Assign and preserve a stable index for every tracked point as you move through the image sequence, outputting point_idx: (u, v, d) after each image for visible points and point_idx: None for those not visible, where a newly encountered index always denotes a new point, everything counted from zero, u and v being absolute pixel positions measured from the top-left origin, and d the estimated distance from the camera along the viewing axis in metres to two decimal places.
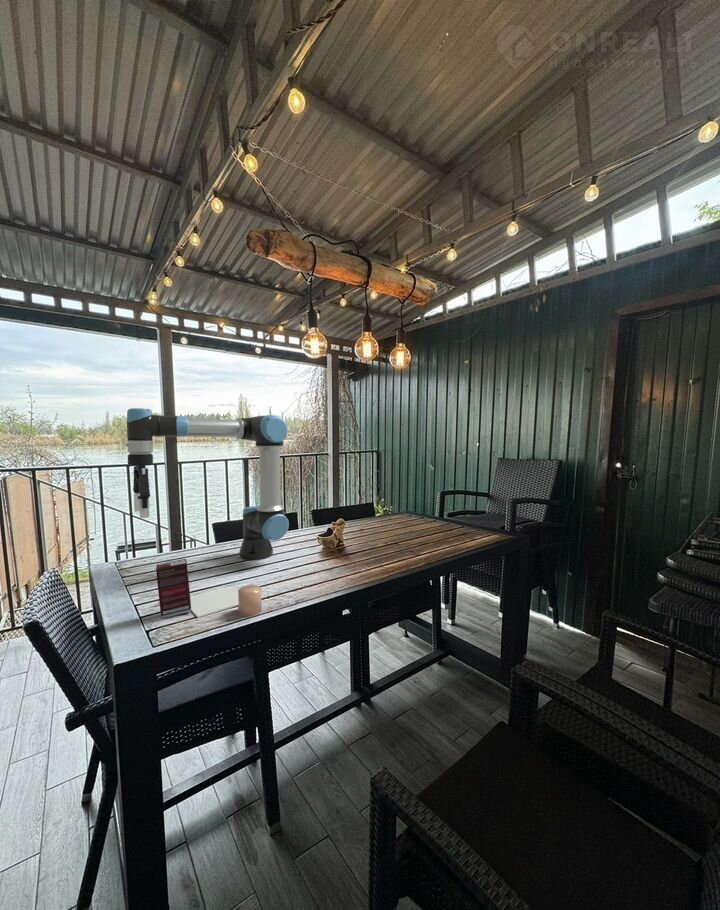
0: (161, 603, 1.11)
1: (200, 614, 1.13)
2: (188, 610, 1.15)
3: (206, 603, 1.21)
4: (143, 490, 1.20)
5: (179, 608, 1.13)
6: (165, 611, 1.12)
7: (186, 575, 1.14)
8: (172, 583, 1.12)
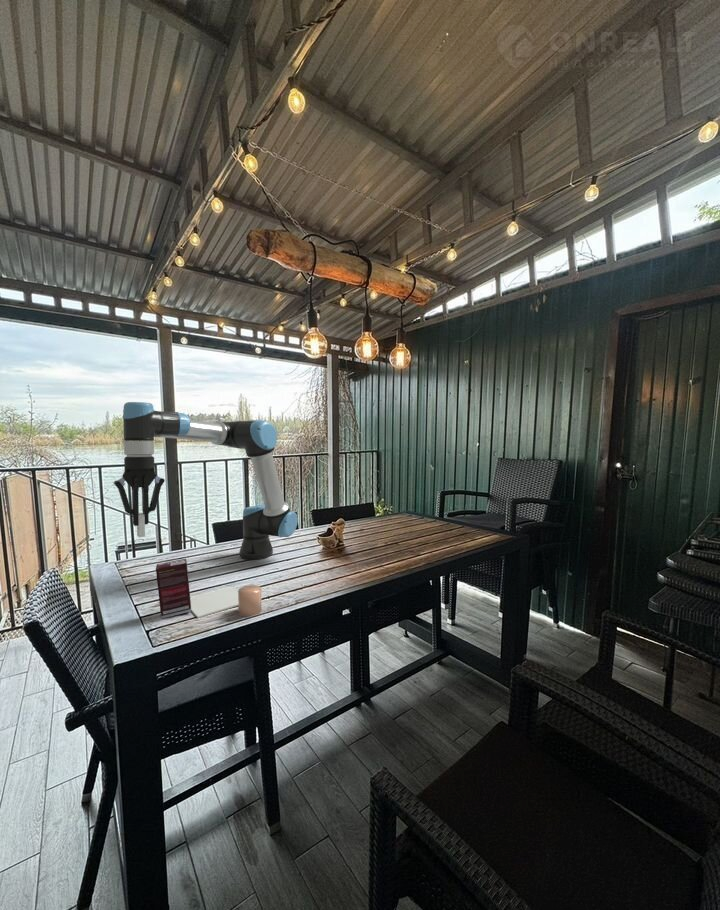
0: (161, 603, 1.11)
1: (200, 614, 1.13)
2: (188, 610, 1.15)
3: (206, 603, 1.21)
4: None
5: (179, 608, 1.13)
6: (165, 611, 1.12)
7: (186, 575, 1.14)
8: (172, 583, 1.12)
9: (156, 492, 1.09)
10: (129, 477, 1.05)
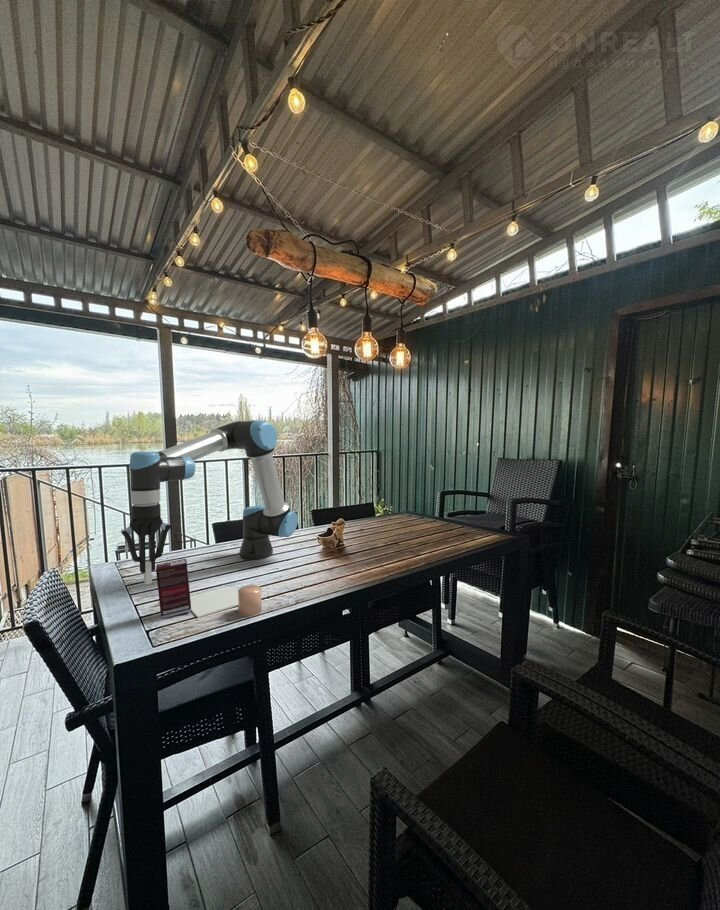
0: (161, 603, 1.11)
1: (200, 614, 1.13)
2: (188, 610, 1.15)
3: (206, 603, 1.21)
4: (131, 554, 1.07)
5: (179, 608, 1.13)
6: (165, 611, 1.12)
7: (186, 575, 1.14)
8: (172, 583, 1.12)
9: (162, 539, 1.11)
10: (136, 526, 1.06)
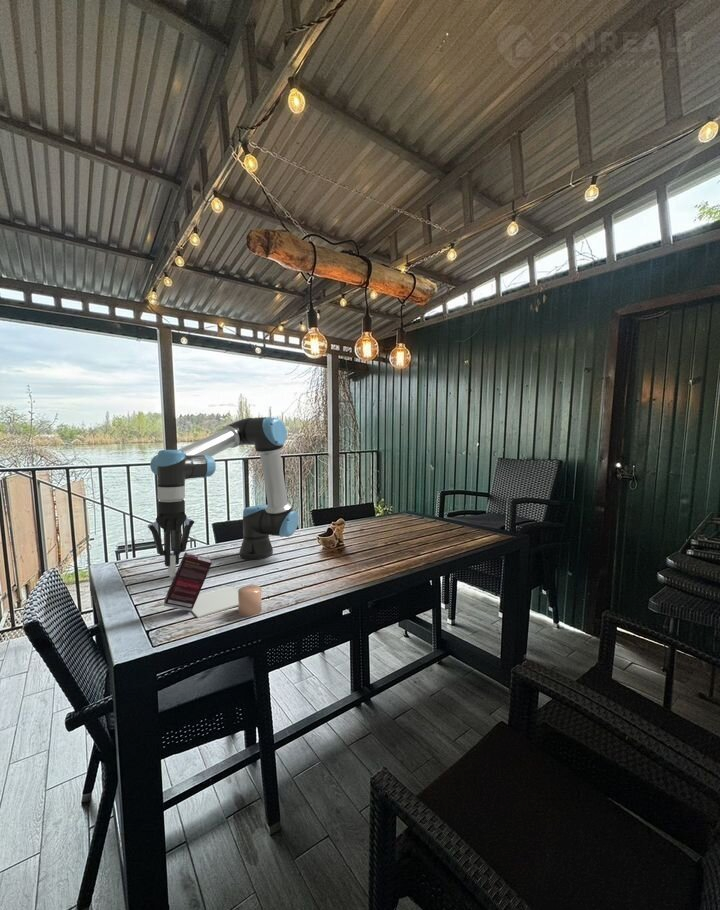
0: (171, 591, 1.12)
1: (200, 614, 1.13)
2: (189, 609, 1.15)
3: (206, 603, 1.21)
4: None
5: (183, 603, 1.14)
6: (171, 600, 1.12)
7: (205, 574, 1.17)
8: (190, 576, 1.15)
9: (186, 534, 1.15)
10: (162, 521, 1.11)
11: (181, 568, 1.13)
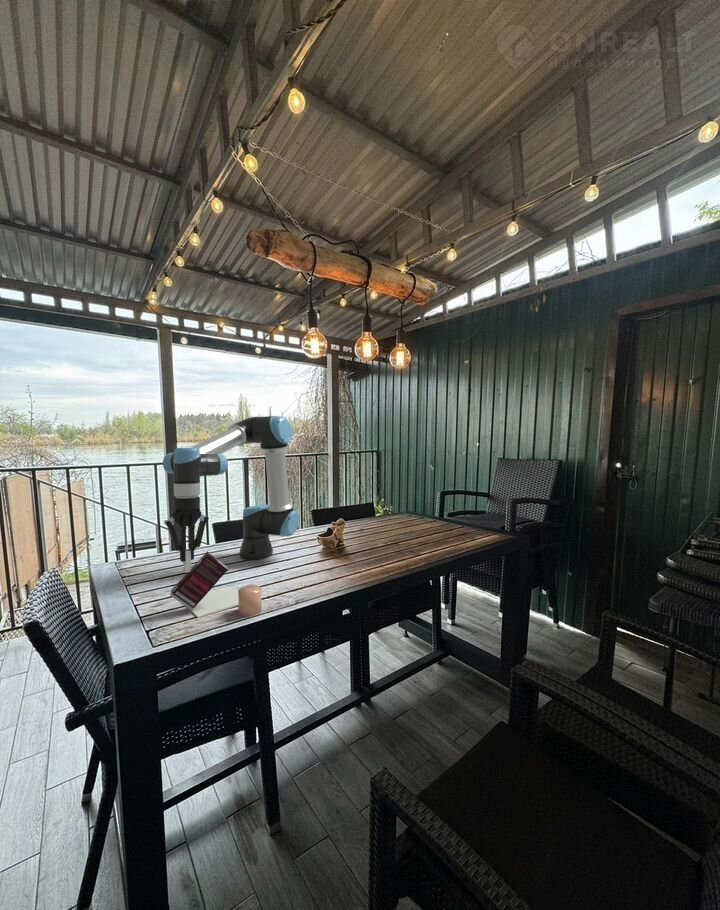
0: (183, 583, 1.14)
1: (200, 614, 1.13)
2: (191, 608, 1.15)
3: (206, 603, 1.21)
4: (172, 543, 1.14)
5: (187, 600, 1.15)
6: (178, 592, 1.14)
7: (218, 579, 1.19)
8: (205, 576, 1.17)
9: (201, 530, 1.18)
10: (178, 517, 1.13)
11: (200, 564, 1.16)
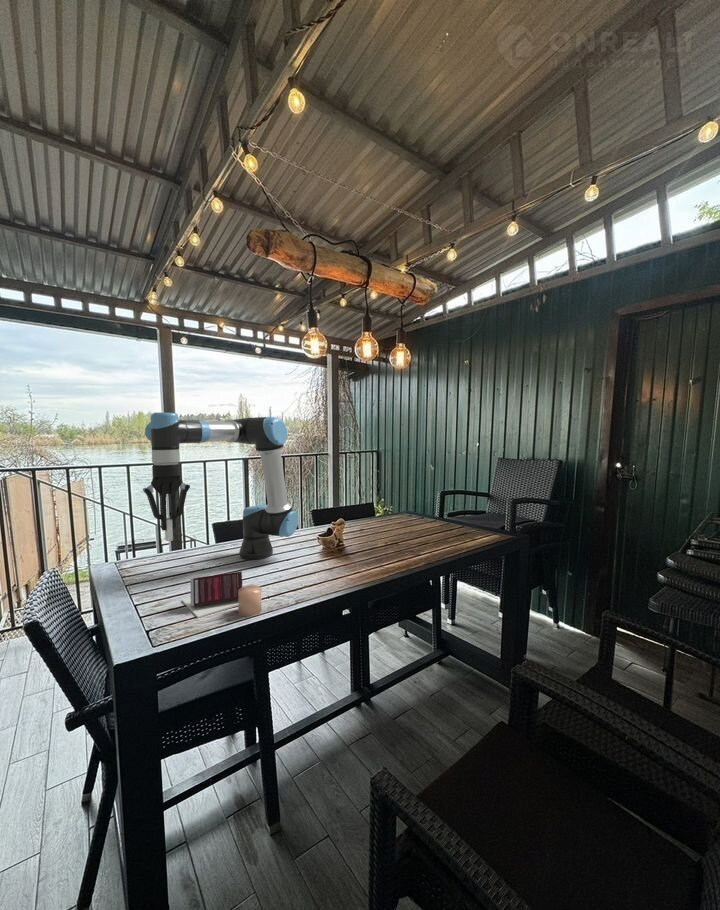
0: (206, 577, 1.20)
1: (200, 614, 1.13)
2: (192, 603, 1.16)
3: None
4: None
5: (197, 594, 1.17)
6: (197, 582, 1.18)
7: (230, 598, 1.20)
8: (224, 586, 1.21)
9: (182, 498, 1.14)
10: (157, 484, 1.10)
11: (229, 574, 1.23)
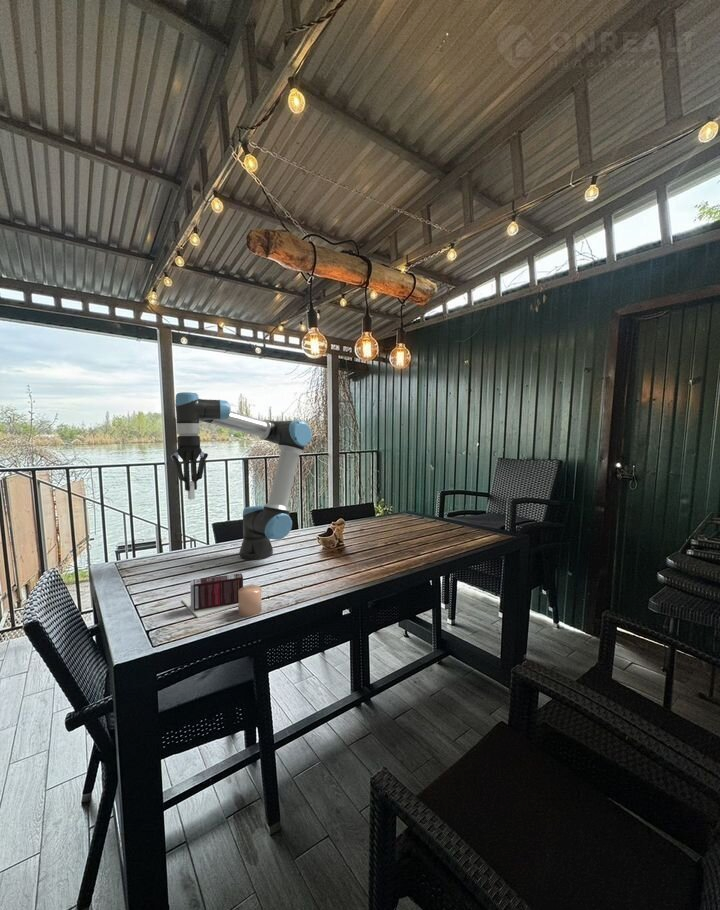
0: (207, 584, 1.17)
1: (200, 614, 1.13)
2: (192, 608, 1.15)
3: None
4: (178, 475, 1.33)
5: (197, 600, 1.16)
6: (197, 588, 1.16)
7: (230, 603, 1.20)
8: (224, 592, 1.19)
9: (202, 464, 1.37)
10: (182, 452, 1.32)
11: (230, 580, 1.20)
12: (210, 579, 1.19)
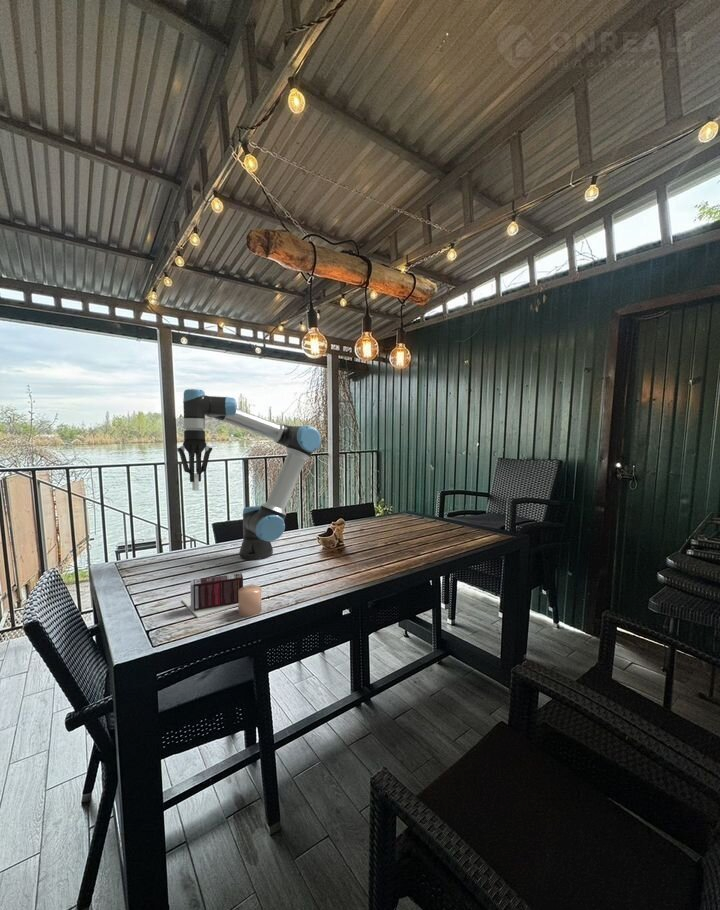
0: (207, 584, 1.17)
1: (200, 614, 1.13)
2: (192, 608, 1.15)
3: None
4: (183, 467, 1.41)
5: (197, 600, 1.16)
6: (197, 588, 1.16)
7: (230, 603, 1.20)
8: (224, 592, 1.19)
9: (206, 457, 1.45)
10: (188, 445, 1.40)
11: (230, 580, 1.20)
12: (210, 579, 1.19)
